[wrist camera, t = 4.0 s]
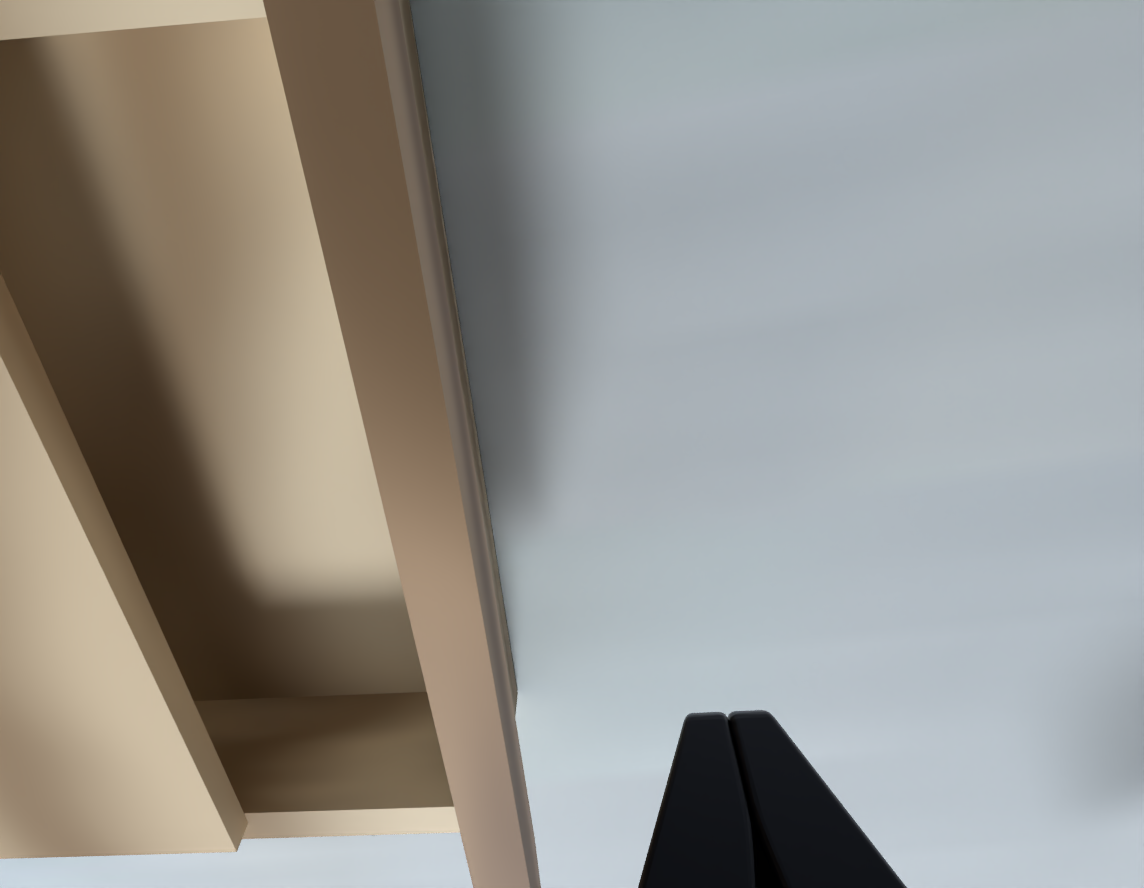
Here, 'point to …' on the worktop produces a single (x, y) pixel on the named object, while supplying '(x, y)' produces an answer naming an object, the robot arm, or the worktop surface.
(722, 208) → the worktop surface
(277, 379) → the plywood box
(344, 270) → the flap
